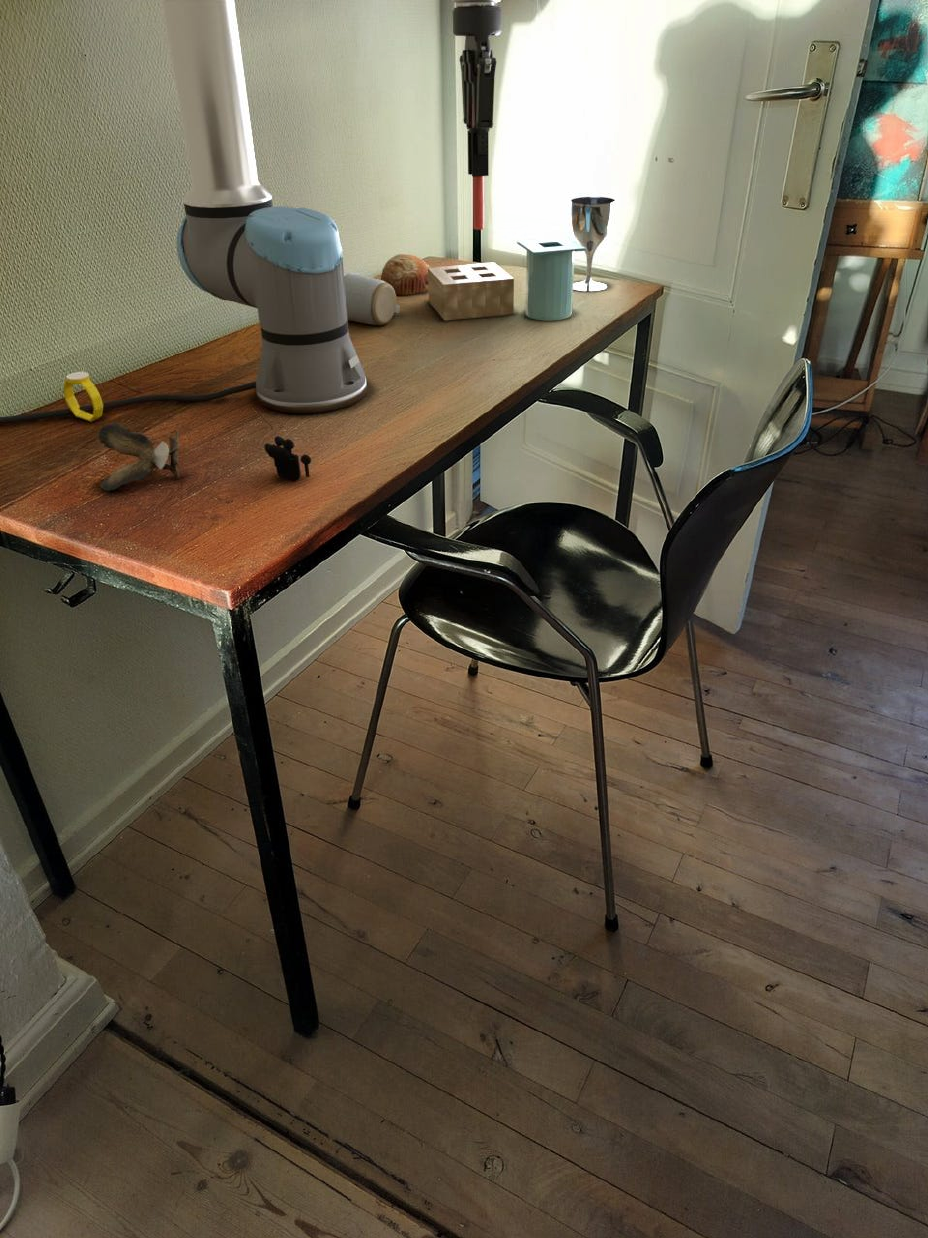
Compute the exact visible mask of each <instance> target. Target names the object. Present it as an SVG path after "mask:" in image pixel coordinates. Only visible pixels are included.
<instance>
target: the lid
mask: <svg viewBox="0 0 928 1238" xmlns="http://www.w3.org/2000/svg"><path fill="white" fill-rule="evenodd" d="M516 244H517V245H519V246H520V247H522V248H523V249H524V250H526V252H527V251H529V252H530V253H532V254H533V255H539V254H551V253H563V252H575V253H576V252H585V251H586V248H585V247H583V246H581V244H580V243H579V242H577V241H574V240H573V239H572V238H569V237H568V236H565V237H552V238H551V237H550V238H539V239H526V240H525V239H524V240H517V241H516ZM552 244H558V245H559V246H557V247H545V248H544V247H543V246H541V245H552Z"/></svg>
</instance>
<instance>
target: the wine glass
mask: <svg viewBox="0 0 928 1238" xmlns="http://www.w3.org/2000/svg"><path fill="white" fill-rule="evenodd" d="M615 208H616V200H615V199H614V198H611V197H606V196H605V197H604V196H583V197H582V196H581V197H574V198H572V199H571V200H570V207H569V209H570V211H569V214H570V215H569V217H570V225H571V231H572V234H573V236H574V238H575V239H576V241H577V243H578V244H580V245H581V246H583V247H585V248H586V251H584V253H585V258H586V278H585V279H584V280H582V281H577V282H576V281H575V282H573V291H578V292H599V291H603V290H606V289H607V288H608V286H607V284H605V283H603V282H600V281H594V280H593V279H592V266H593V261H594V260H593V259H594V257H595V253H596V251H597V250H598V248H599V247H600V245H601V244H602V243H603V242H604V241H605V240H606V238H607V237H608V236H609V234H610V232H611V229H612V226H613V222H614V216H615Z"/></svg>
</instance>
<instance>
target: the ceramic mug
mask: <svg viewBox="0 0 928 1238" xmlns="http://www.w3.org/2000/svg"><path fill="white" fill-rule="evenodd" d="M344 282H345V295H346V307H347V321H350V322H355V323H360V324H361V323H362V324H367V325H373V326H383V325H386V324H388V323H389V322H390V321H391V320H392V318H393V316H394V315H396V316H397V315H399V313H400V305H399V304H397V295H396V294H395V291H394V289H393V287H392V286H391V285H390V284H388V283H386V282H384V281H382V280H381V279H380V278H379V279H378V278H373V277H370V276H366V275H362V274H359V273H355V272H349V273H347V274H344Z"/></svg>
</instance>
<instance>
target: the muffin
mask: <svg viewBox="0 0 928 1238" xmlns="http://www.w3.org/2000/svg"><path fill="white" fill-rule="evenodd" d="M428 268H431V267H430V265H429V264H428V263H427V262H425V260H424V259H422V258H420V257H417V256H416V255H414V254H409V253H397V254H396V255H394V256H392V257H391V258H389V259H388V260H387V261H386V263H385V264H384V266H383V267H382V270H381V275H380V280H382V281H384V282H386V283H388V284H390V285H391V286H392V287H393V289H394V291H395V294H396V296H407V295H417V294H422V293H425V292H429V291H428Z"/></svg>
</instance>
